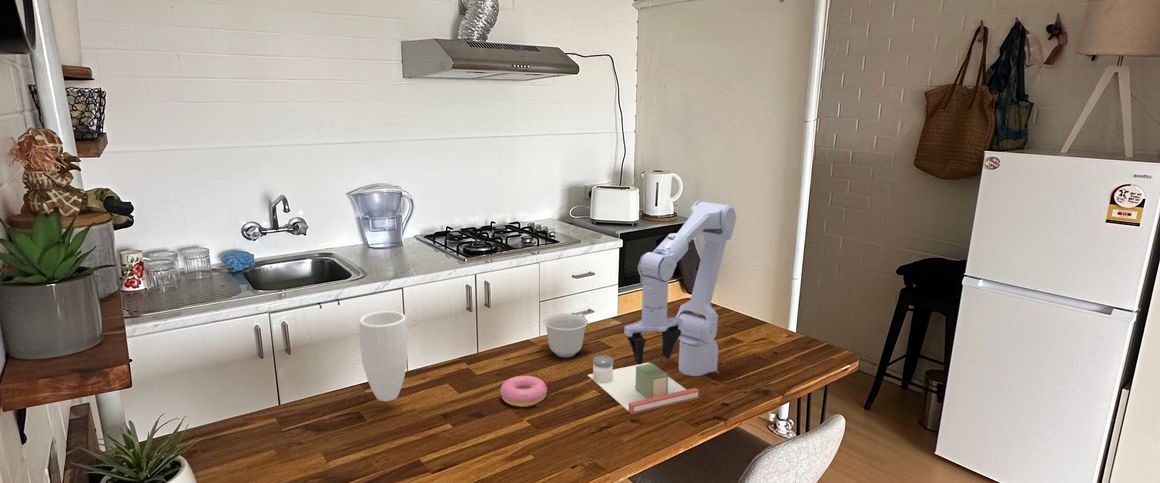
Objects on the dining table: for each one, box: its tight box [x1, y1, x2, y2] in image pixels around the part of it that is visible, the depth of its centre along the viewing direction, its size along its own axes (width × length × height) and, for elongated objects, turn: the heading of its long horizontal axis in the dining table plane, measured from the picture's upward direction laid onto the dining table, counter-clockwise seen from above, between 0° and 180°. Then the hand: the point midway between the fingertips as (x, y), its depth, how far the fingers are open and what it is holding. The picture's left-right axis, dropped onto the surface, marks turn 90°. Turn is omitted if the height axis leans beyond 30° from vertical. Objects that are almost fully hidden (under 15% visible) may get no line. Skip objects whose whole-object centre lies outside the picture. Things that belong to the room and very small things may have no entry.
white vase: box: [358, 310, 408, 402], centre depth 143 cm, size 10×10×22 cm
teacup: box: [543, 313, 589, 358], centre depth 175 cm, size 12×15×10 cm
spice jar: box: [592, 354, 614, 383], centre depth 159 cm, size 5×5×5 cm
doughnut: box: [499, 374, 548, 408], centre depth 151 cm, size 11×11×4 cm
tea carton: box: [635, 362, 669, 399], centre depth 151 cm, size 7×4×6 cm, turn 26°
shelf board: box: [587, 362, 700, 415], centre depth 156 cm, size 18×22×3 cm
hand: (652, 360), depth 150 cm, fingers open, 7 cm apart
